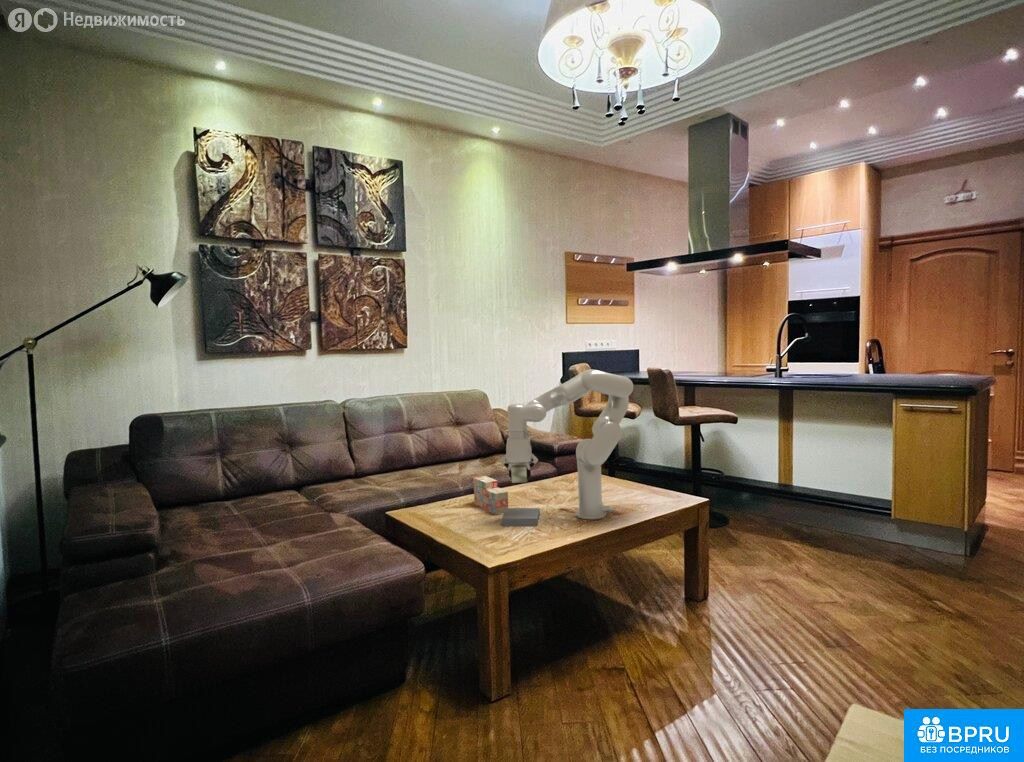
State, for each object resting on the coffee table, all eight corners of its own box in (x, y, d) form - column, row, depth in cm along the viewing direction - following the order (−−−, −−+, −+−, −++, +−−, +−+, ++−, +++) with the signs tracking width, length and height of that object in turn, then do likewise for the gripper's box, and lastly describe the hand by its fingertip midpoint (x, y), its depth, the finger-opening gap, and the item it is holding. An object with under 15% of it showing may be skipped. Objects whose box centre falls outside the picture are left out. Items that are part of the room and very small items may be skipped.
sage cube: (528, 478, 224) (527, 464, 224) (526, 482, 218) (526, 467, 218) (513, 478, 225) (513, 464, 225) (511, 482, 219) (511, 467, 219)
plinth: (539, 515, 229) (539, 508, 228) (537, 526, 215) (536, 518, 215) (506, 515, 230) (506, 508, 230) (501, 525, 217) (501, 518, 216)
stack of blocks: (508, 512, 234) (507, 484, 233) (495, 515, 231) (494, 486, 230) (486, 501, 253) (485, 475, 252) (474, 503, 250) (473, 477, 249)
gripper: (540, 432, 223) (541, 476, 224) (498, 433, 225) (500, 477, 226) (538, 435, 216) (540, 480, 217) (495, 436, 218) (497, 481, 219)
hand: (520, 478), depth 222 cm, fingers closed on sage cube, 6 cm apart
